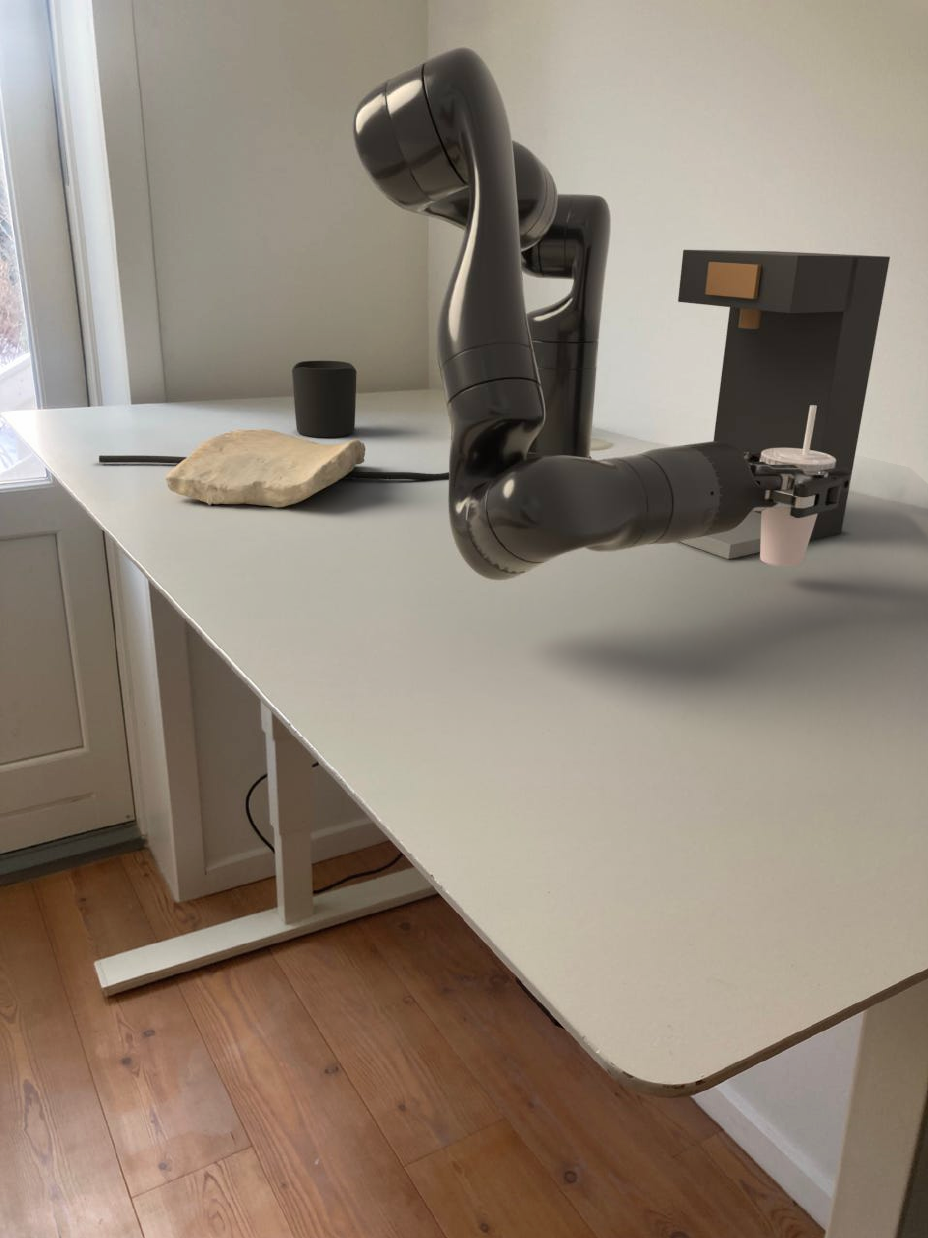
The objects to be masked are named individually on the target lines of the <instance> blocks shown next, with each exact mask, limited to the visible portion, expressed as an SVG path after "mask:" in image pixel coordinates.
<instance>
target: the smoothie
mask: <svg viewBox="0 0 928 1238" xmlns="http://www.w3.org/2000/svg"><path fill="white" fill-rule="evenodd" d="M816 409H817V406H815V405H810V410H809V415H808V421H807V427H806V433H805V439H804V445H803V449H798V448H770V449H766V450H763V451H762V452H761V458H760V461H759V462H765V463H767V464H768V465H796V466H798V467H799V468H801V469H803V470H804V471H818V470H827V469H832V468H835V463H836V459H835V458H834V457H833V456H831V455H828V454H826V453H822V452H818V451H813V450H810V444H811V438H812V432H813V426H814V420H815V414H816ZM781 475H782V477H783V484H782V489H784V490H786V487H787V481H788V474H781ZM808 481H812V480H804V481H803V483H804V482H808ZM790 509H791V508H767V509H765V510H764V511H761V543H760V552H759V559H760V560H761V561H762V562H764V563H765V564H768V565H771V566H775V567H782V568H796V567H800V566H802V565H803V562H804V559H805V555H806V553H807V550H808V546H809V543H810V541H811V540H810V537H811V533H812V530H813V527H814V524H815V521H816V517H817V514H814V515H810V516H807V517H803V518H794V517H793V516H790ZM809 540H810V541H809Z"/></svg>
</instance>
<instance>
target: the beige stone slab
mask: <svg viewBox="0 0 928 1238" xmlns="http://www.w3.org/2000/svg"><path fill="white" fill-rule="evenodd" d="M365 456H366V445H365V443H364V442H362V441H361V440H360V439H359V438H354V439H352V440H349V441H347V442H344V443H340V444H323V443H322V444H321V443H317V442H315V441H311V440H308V439H304V438H300V437H298V436H293V435H291V434H286V433H283V432H280V431H277V430H273V429H265V428H264V429H263V428H261V429H237V430H235V431H231V430H230V431H229V432H228V433H227V432H226V433H223V434H219V435H216V436H212V437H211V438H209V439H207V440H206V441H203V442H201V443H200V444H198V446H197V447H196V448H195V449H194V450H193V451H192V452H191V454H190V455H188V456H186V457H187V458H186V459H184V460H183V461H182V462H180V463H179V464H176V465H175V466H174V467H173V468H172V469H171V470H170V471H169V472H168V474H167V475H166V477H165V480H166V485H167V487H168V489H169V490H170V491H172V492H173V493H175V494H176V495H179V496H184V497H188V498H192V499H195V500H198V501H201V502H202V503H203V502H204V503H206V504H207V505H208V506H211V505H212V504H214V505H221V504H223V505H241V504H245V505H247V504H248V505H256V506H265V507H266V506H267V507H268V506H269V507H272V508H284V507H287V506H291V505H294V504H298V503H300V502H302V501H305V500H306V499H308V498H311V497H312V496H313V495H314V494H316V493H318V492H319V491H322V490H323V489H325V488H327V487H330V486H331V485H334V484H335V483H336V482H338V481H339V480H341V479H343V478H342V477H344V476H345V475H347V474H348V473H349V472H350V471H354V469H355V467H356V466H357V465H361V464H363V463H365Z"/></svg>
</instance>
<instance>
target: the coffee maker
mask: <svg viewBox="0 0 928 1238" xmlns="http://www.w3.org/2000/svg"><path fill="white" fill-rule="evenodd" d="M890 259H891V256H885V255H884V256H883V255H864V254H863V255H862V254H843V253H842V254H841V253H822V252H821V253H820V252H802V251H801V252H798V251H776V250H731V249H730V250H726V249H725V250H723V249H720V250H719V249H683V250H682V259H681V267H680V268H681V269H680V276H679V277H680V278H679V287H678V298H677V302H678V303H685V304H696V305H705V306H716V307H723V308H729V312H728V320H727V328H726V336H725V342H724V351H723V359H722V368H721V375H720V376H721V377H720V383H719V393H718V400H717V407H716V418H715V425H714V434H713V441H720V442H724V443H727V444H730V445H731V446H733V447H735V448H736V449H737V450H738V451H739V452H744V451H747V452H749V453H752V454H758V453H761V452H762V451H763V450H766V449H770V448H798V449H803V445H804V439H805V433H806V427H807V421H808V415H809V410H810V405H815V406H817V409H816V414H815V420H814V426H813V432H812V438H811V444H810V450H813V451H818V452H822V453H826V454H828V455H831V456H833V457H834V458H835V459H836V463H835V468H838V467H844V468H848V469H850V470H851V475H852V474H853V469H854V464H855V458H856V452H857V447H858V446H857V445H858V442H859V441H858V440H859V436H860V435H859V434H860V430H861V423H862V420H863V419H862V417H863V412H864V406H865V401H866V395H867V389H868V384H869V379H870V372H871V369H872V368H871V367H872V363H873V362H872V361H873V357H874V350H875V345H876V339H877V333H878V327H879V322H880V316H881V310H882V305H883V301H884V300H883V298H884V293H885V287H886V281H887V276H888V271H889V267H890ZM852 476H853V475H852ZM850 486H851V485H850ZM850 486H849V488H851V487H850ZM849 492H850V490H849V491H848V492H846V493H844V494H839V499H838V505H837V508H835V509H832V510H828V511H825V512H821V513H818V514H817V517H816V521H815V524H814V527H813V530H812V533H811V537H810V540H809V542H811V541H814V540H818V539H822V538H826V537H831V536H836V535H840V534H842V532H843V525H844V520H845V514H846V509H847V503H848V497H849ZM679 543H682V544H684V545H687V546H690V547H692V548H696V549H698V550H701V551H703V552H706V553H710V554H712V555H715V556H718V557H721V558H724V559H727V560H731V559H736V558H740V557H744V556H748V555H749V556H750V555H753V554H757V553H760V543H761V511H751V512H750V513H749V514H748V516H747V517H746V518H745V519H744V520H743V522H742V523H740V524H739V525H738V526H737V527H735V528H734V529H732V530H730V531H727V532H722V533H717V534H712V535H707V536H703V537H698V538H693V539H688V540H683V541H679Z"/></svg>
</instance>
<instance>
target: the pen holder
mask: <svg viewBox="0 0 928 1238" xmlns="http://www.w3.org/2000/svg"><path fill="white" fill-rule="evenodd" d="M291 377H292V389H293V403H294V414H295V415H294V416H295V417H294V418H295V428H296V431H297V432H298V434H299V435H302V436H304V437H309V438H310V437H311V438H326V439H327V438H340V437H341V438H342V437H346V436H347V437H348V436H350V435H352V434H353V433H354V432H355V427H356V405H357V404H356V403H357V401H356V400H357V369H356V368H355V366H354V365H353V364H352V363H350V362H346V361H342V360H341V361H339V360H305V361H303V360H302V361H299V362H297V363H295V364H294V366H293V367H292V370H291Z"/></svg>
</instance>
